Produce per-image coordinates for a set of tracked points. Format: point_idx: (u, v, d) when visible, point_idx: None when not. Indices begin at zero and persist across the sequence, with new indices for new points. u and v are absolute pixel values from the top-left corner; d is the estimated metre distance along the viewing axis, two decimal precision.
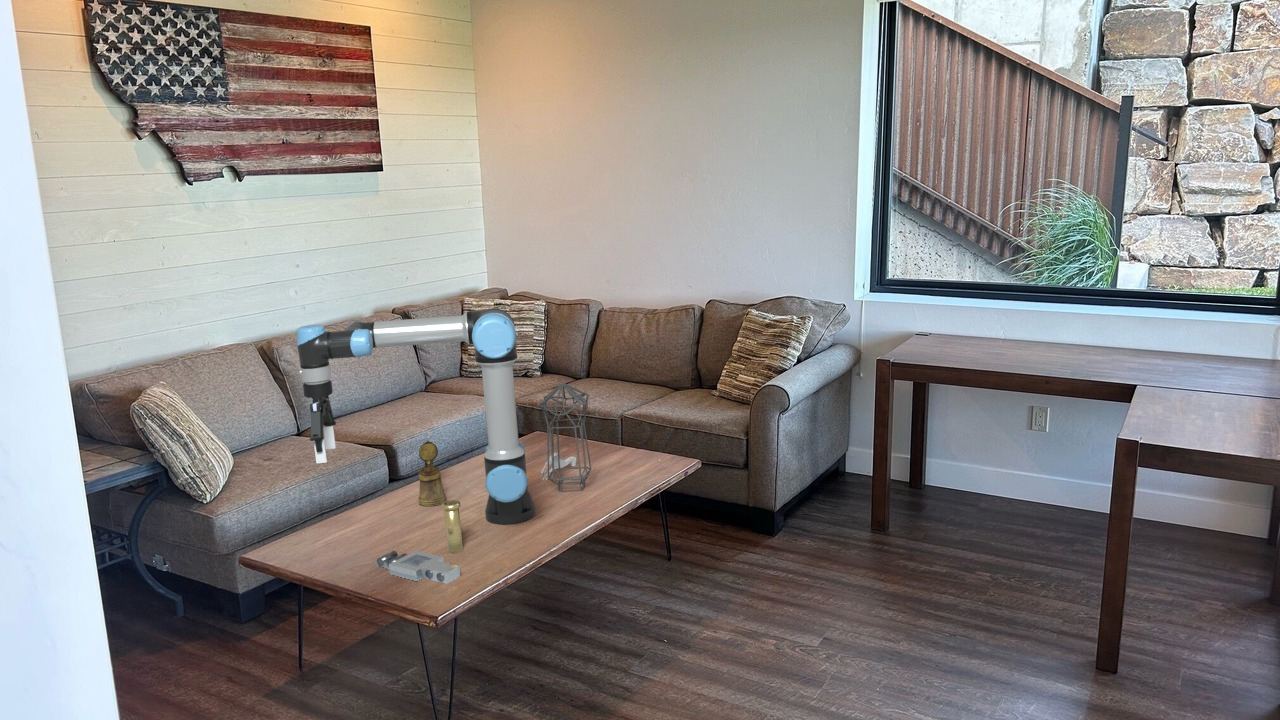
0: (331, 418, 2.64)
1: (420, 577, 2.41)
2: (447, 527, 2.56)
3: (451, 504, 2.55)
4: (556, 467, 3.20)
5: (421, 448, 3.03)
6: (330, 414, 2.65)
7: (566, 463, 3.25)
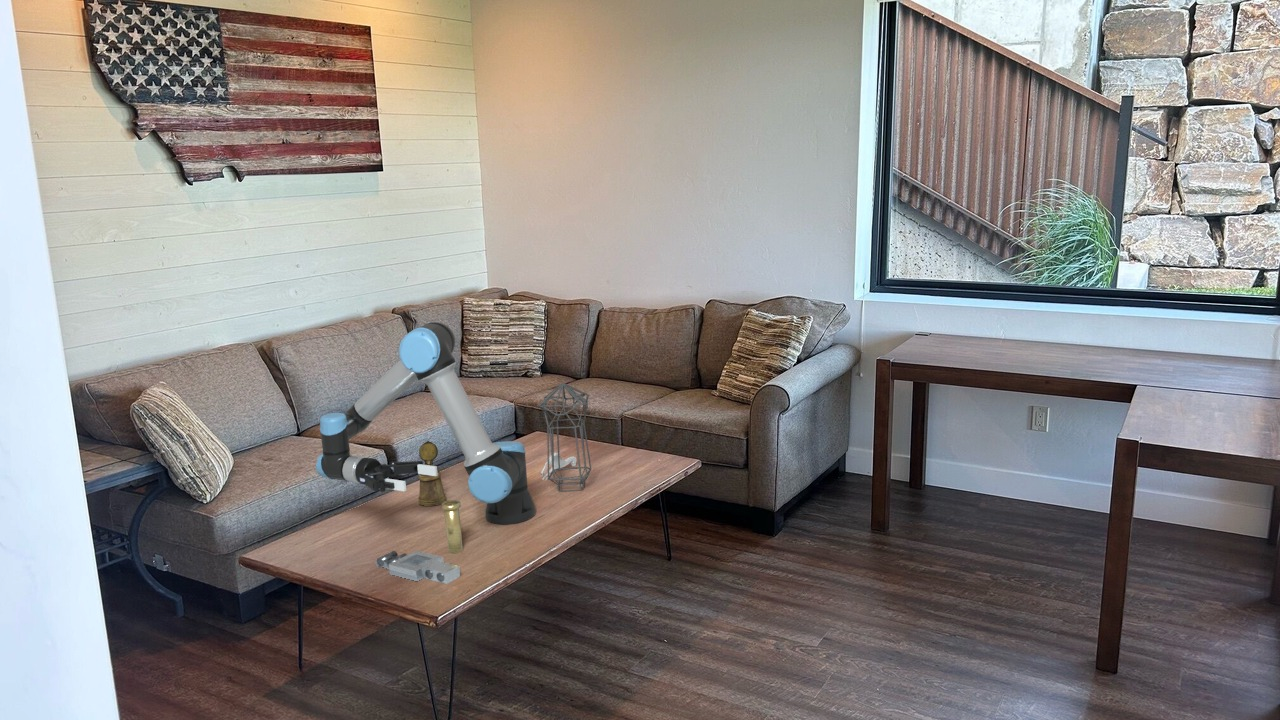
0: (412, 464, 2.69)
1: (420, 577, 2.41)
2: (447, 527, 2.56)
3: (451, 504, 2.55)
4: (556, 467, 3.20)
5: (421, 448, 3.03)
6: (412, 463, 2.71)
7: (566, 463, 3.25)
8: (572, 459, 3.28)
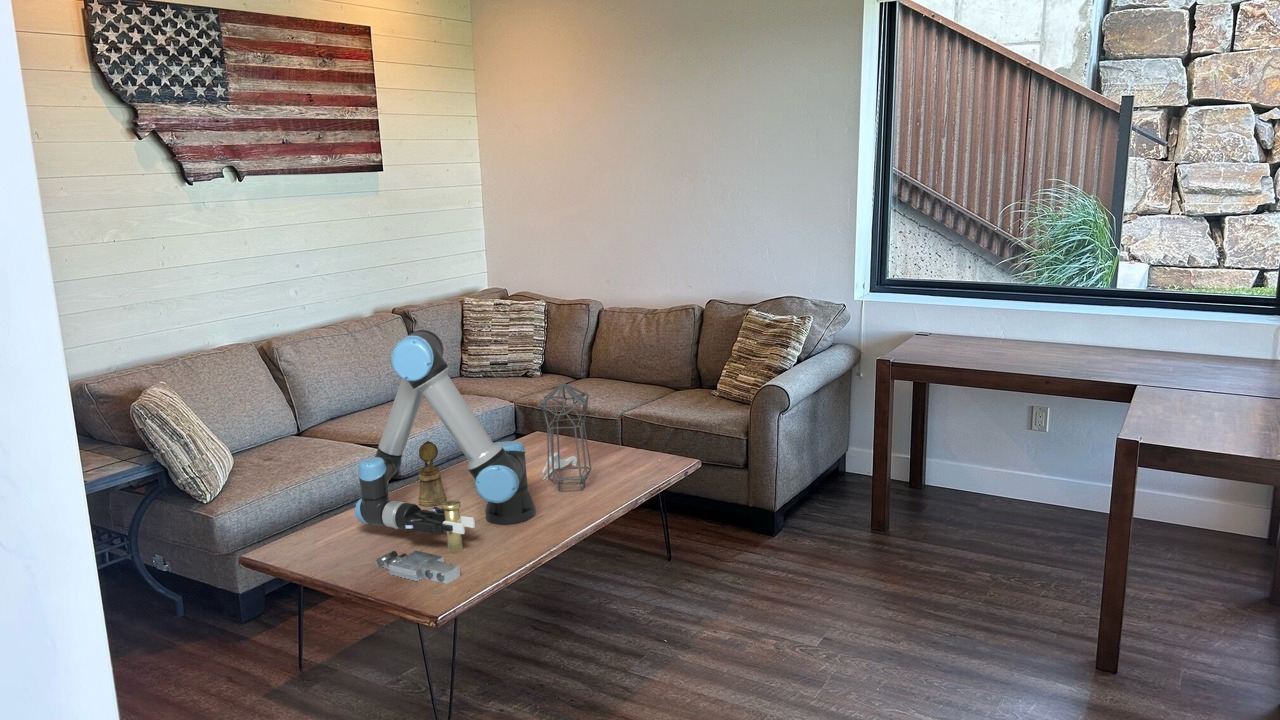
0: None
1: (420, 577, 2.41)
2: None
3: (451, 504, 2.55)
4: (557, 467, 3.20)
5: (421, 448, 3.03)
6: None
7: (567, 463, 3.25)
8: (573, 459, 3.28)
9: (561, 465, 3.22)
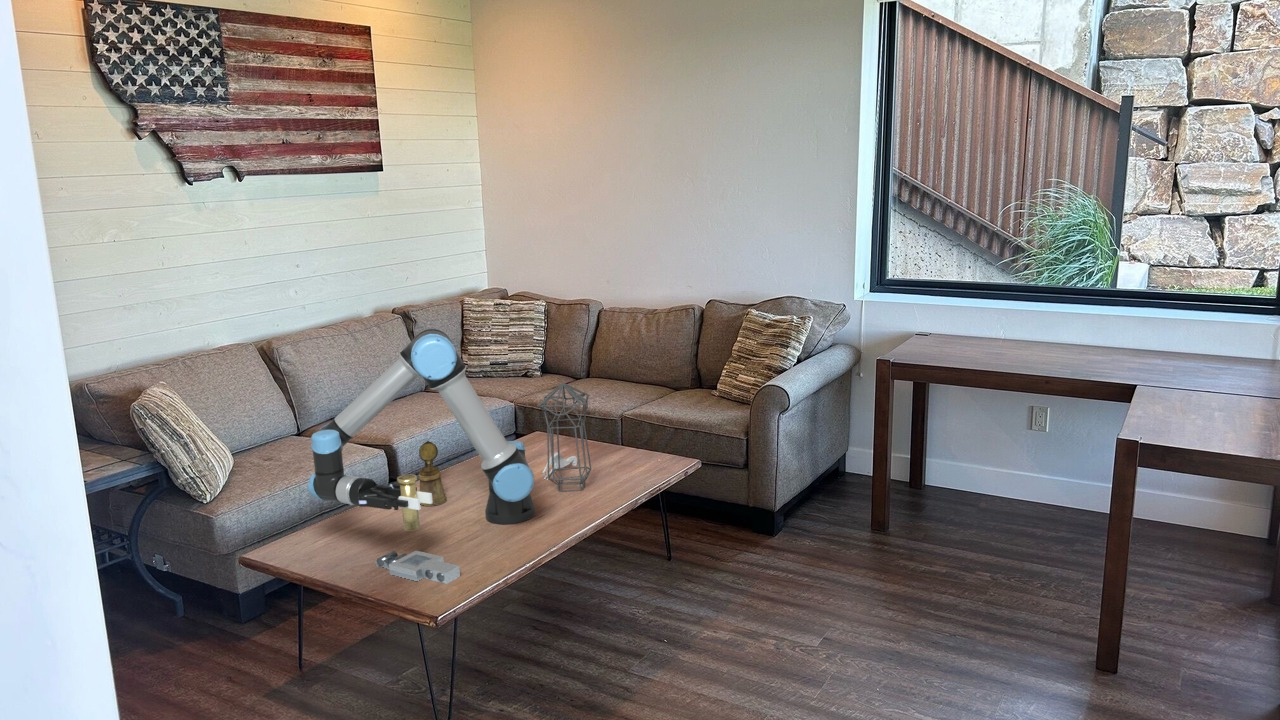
0: None
1: (420, 577, 2.41)
2: None
3: (407, 478, 2.41)
4: (557, 467, 3.20)
5: (421, 448, 3.03)
6: None
7: (567, 463, 3.25)
8: (573, 459, 3.28)
9: (562, 465, 3.22)
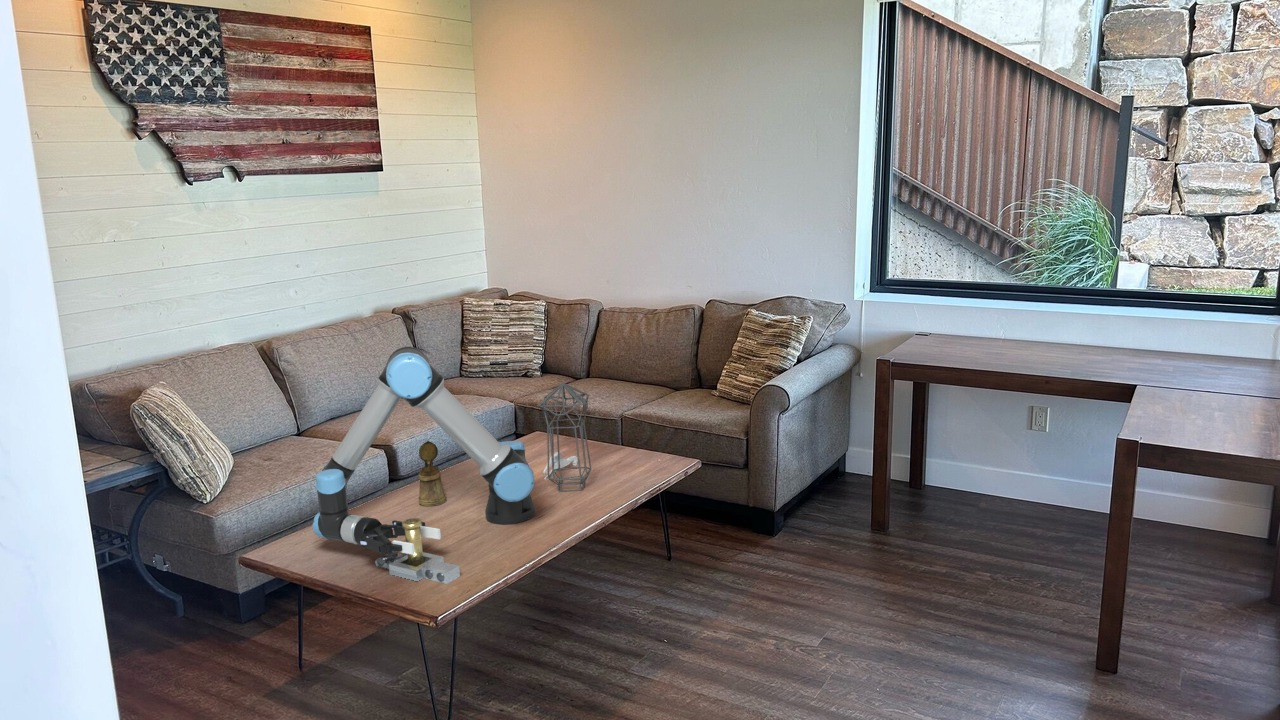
0: None
1: (420, 577, 2.41)
2: None
3: (412, 523, 2.43)
4: None
5: (421, 448, 3.03)
6: None
7: (568, 462, 3.25)
8: (573, 458, 3.28)
9: (562, 465, 3.22)
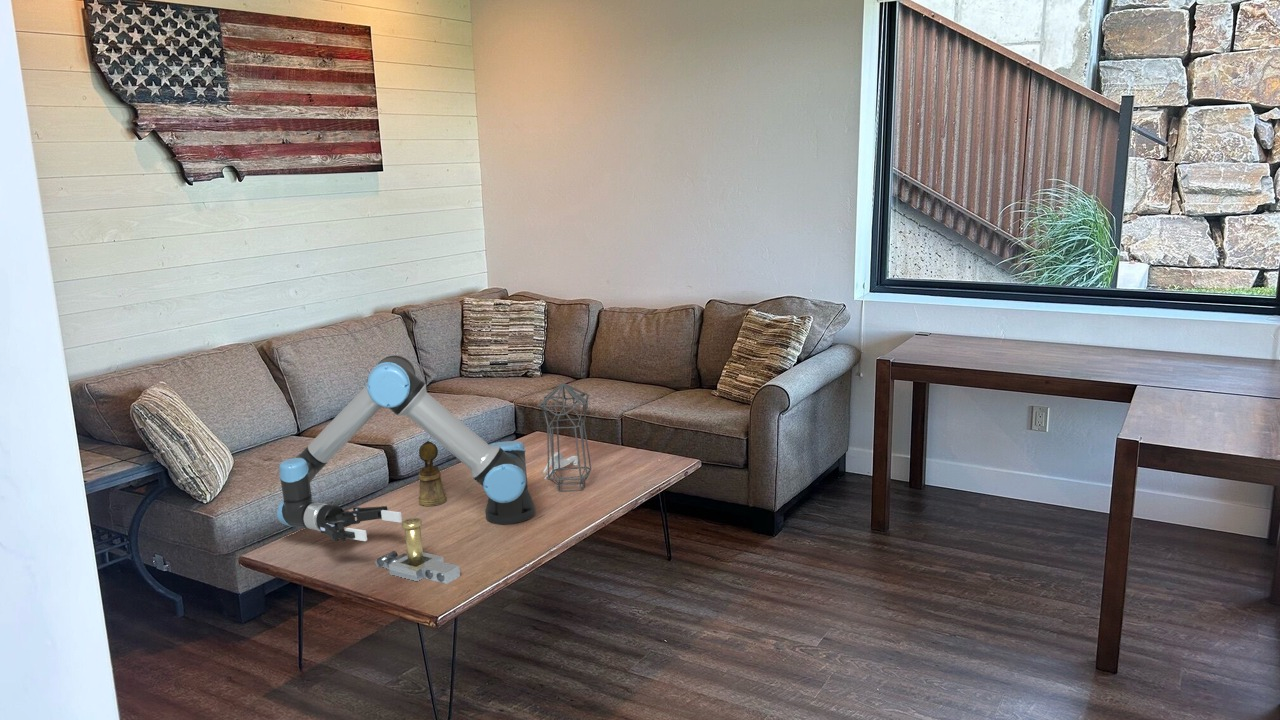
0: (375, 509, 2.59)
1: (420, 577, 2.41)
2: (407, 547, 2.44)
3: (412, 523, 2.43)
4: None
5: (421, 448, 3.03)
6: (375, 509, 2.60)
7: (568, 462, 3.25)
8: (574, 458, 3.28)
9: (562, 464, 3.23)
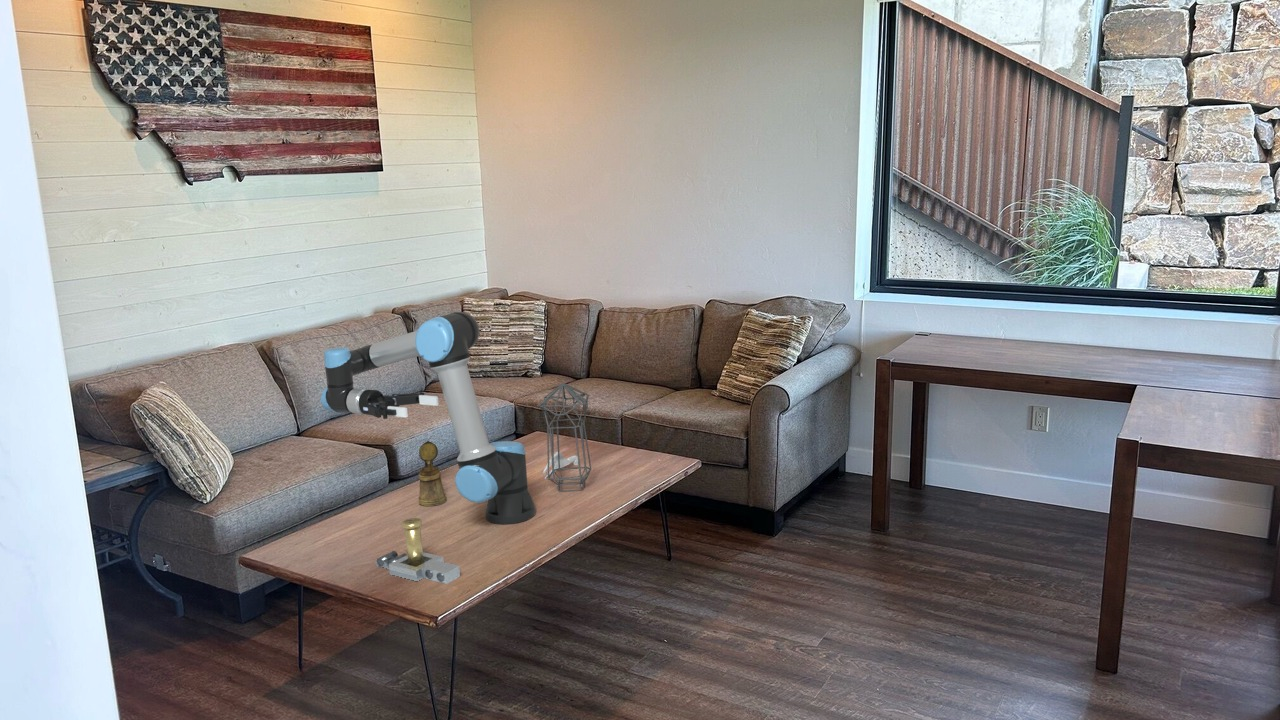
0: (413, 395, 2.77)
1: (420, 577, 2.41)
2: (407, 547, 2.44)
3: (412, 523, 2.43)
4: None
5: (421, 448, 3.03)
6: (413, 395, 2.78)
7: (568, 462, 3.26)
8: (574, 458, 3.29)
9: (562, 464, 3.23)
